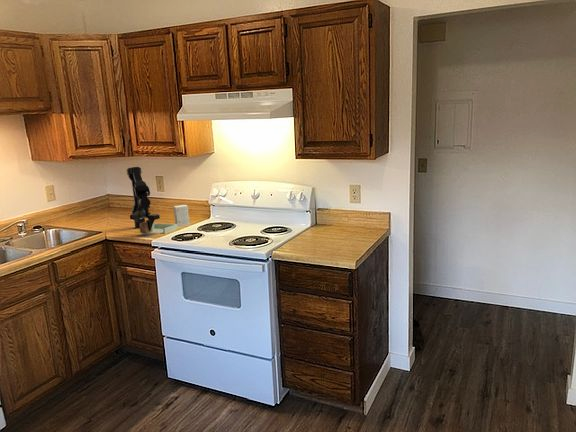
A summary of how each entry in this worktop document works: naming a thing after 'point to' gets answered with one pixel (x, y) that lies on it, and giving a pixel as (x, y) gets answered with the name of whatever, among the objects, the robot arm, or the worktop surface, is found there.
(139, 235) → the mat
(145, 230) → the walnut block
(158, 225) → the crate
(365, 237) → the worktop surface
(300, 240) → the worktop surface
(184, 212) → the small box
